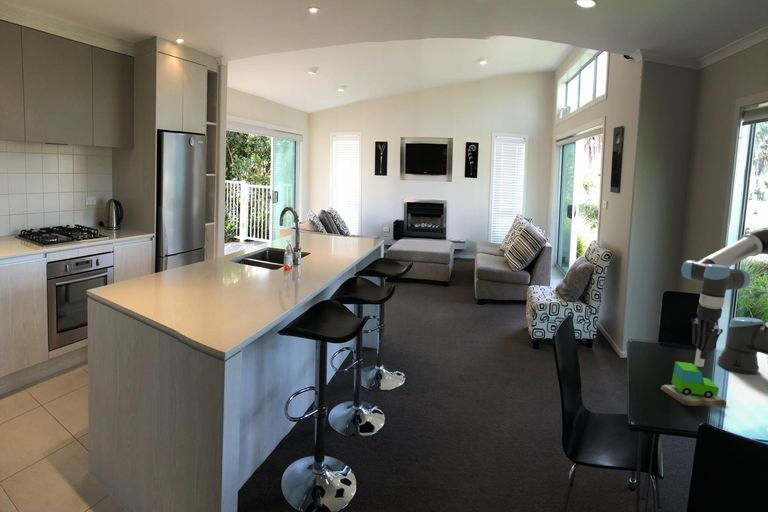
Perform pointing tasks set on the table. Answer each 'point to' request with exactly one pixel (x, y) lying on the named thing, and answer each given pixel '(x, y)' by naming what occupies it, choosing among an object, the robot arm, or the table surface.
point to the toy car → (692, 380)
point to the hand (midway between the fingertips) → (698, 365)
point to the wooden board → (692, 397)
